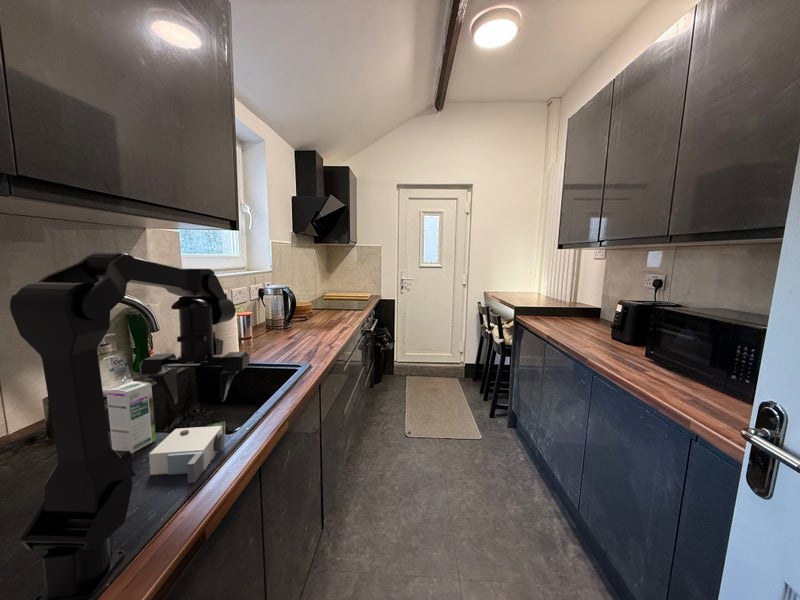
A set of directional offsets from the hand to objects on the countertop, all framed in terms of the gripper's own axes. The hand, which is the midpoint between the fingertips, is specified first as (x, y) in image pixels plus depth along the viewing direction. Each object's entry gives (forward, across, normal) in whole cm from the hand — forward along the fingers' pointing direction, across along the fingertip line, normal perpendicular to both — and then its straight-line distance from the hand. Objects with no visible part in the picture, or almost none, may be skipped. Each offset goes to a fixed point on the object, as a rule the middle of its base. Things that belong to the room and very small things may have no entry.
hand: (199, 402), depth 66 cm
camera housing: (+13, +3, -2) cm, 14 cm away
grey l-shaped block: (+13, +1, +5) cm, 14 cm away
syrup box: (+14, +18, -10) cm, 25 cm away
